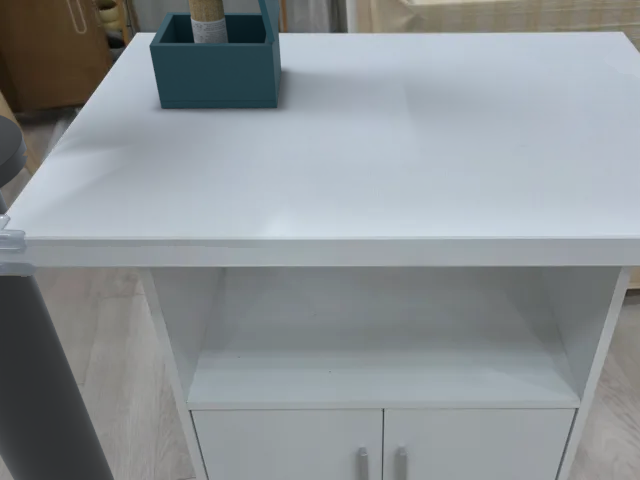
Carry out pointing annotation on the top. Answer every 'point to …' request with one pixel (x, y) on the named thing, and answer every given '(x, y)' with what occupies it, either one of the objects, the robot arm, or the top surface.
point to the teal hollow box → (216, 64)
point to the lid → (270, 17)
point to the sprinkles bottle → (208, 21)
